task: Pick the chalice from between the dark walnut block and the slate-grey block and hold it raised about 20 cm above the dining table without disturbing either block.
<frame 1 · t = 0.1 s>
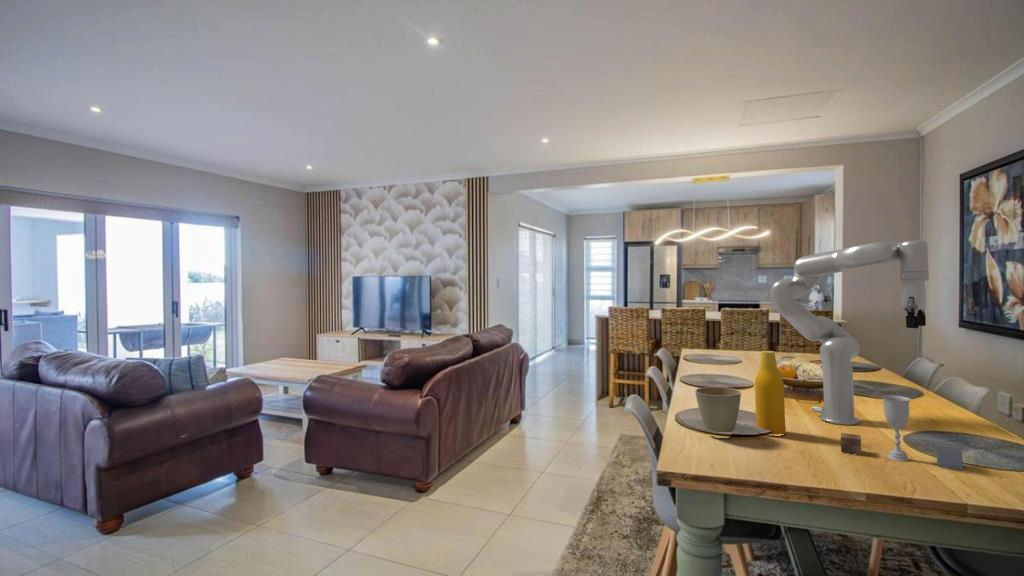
hand: (916, 326, 164), 37 cm above the table, tool pointing down, fingers open, 9 cm apart
walnut block: (851, 452, 150), on the table
beer bottle: (770, 433, 171), on the table
plant pot: (719, 436, 170), on the table
slate block: (949, 465, 136), on the table
chalice: (898, 458, 143), on the table
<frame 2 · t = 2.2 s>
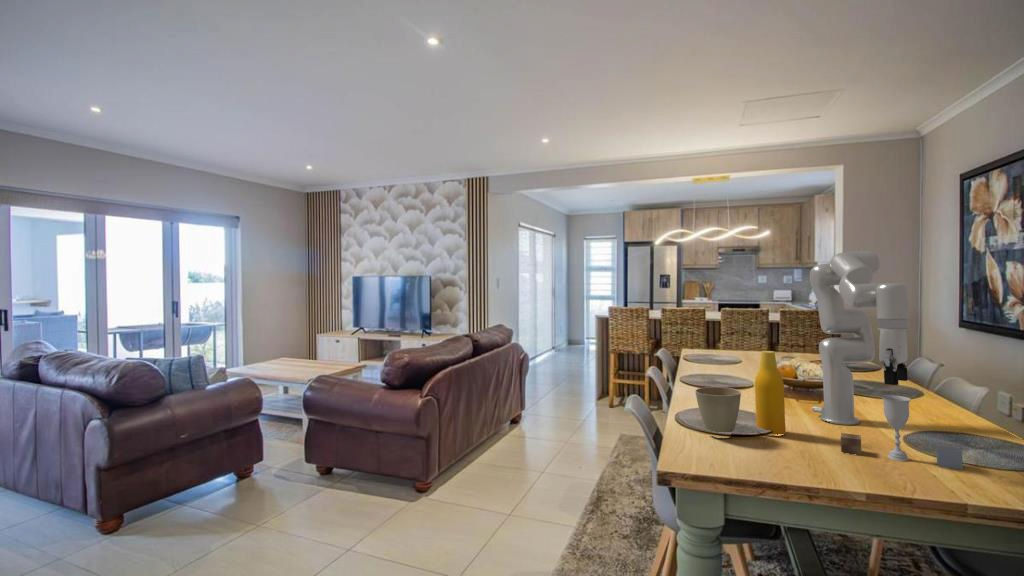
hand: (896, 382, 143), 23 cm above the table, tool pointing down, fingers open, 9 cm apart
nothing on the table moved.
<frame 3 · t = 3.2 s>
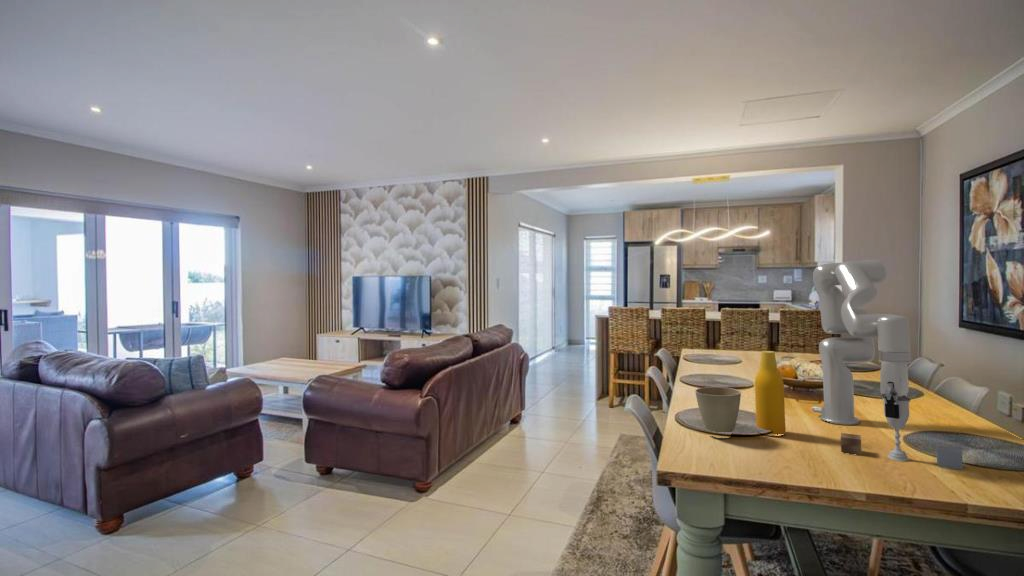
hand: (897, 414, 143), 13 cm above the table, tool pointing down, fingers open, 9 cm apart
nothing on the table moved.
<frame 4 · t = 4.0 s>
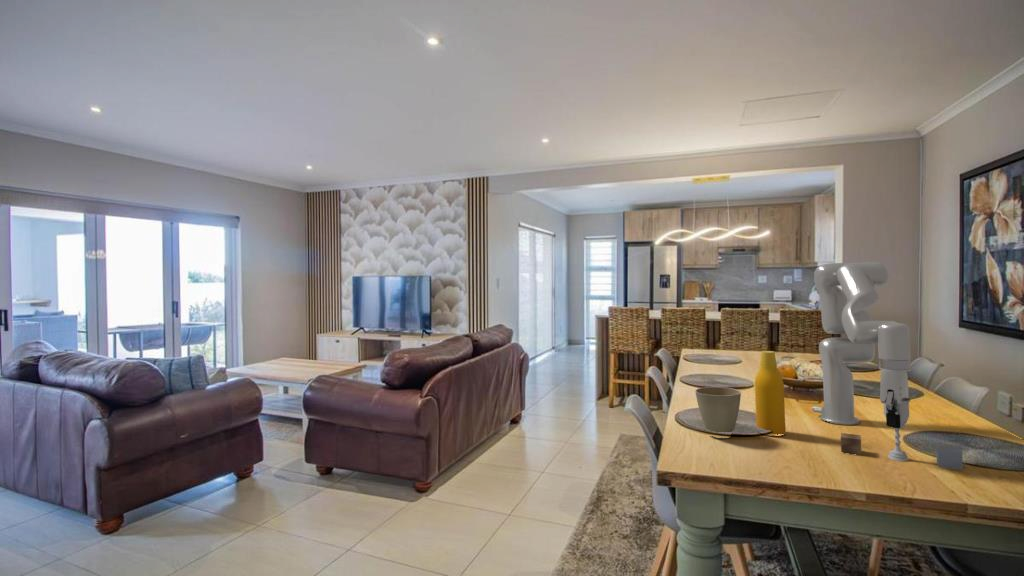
hand: (896, 424, 143), 10 cm above the table, tool pointing down, fingers closed on chalice, 6 cm apart
chalice: (898, 458, 143), on the table, touching gripper
everything else where it was.
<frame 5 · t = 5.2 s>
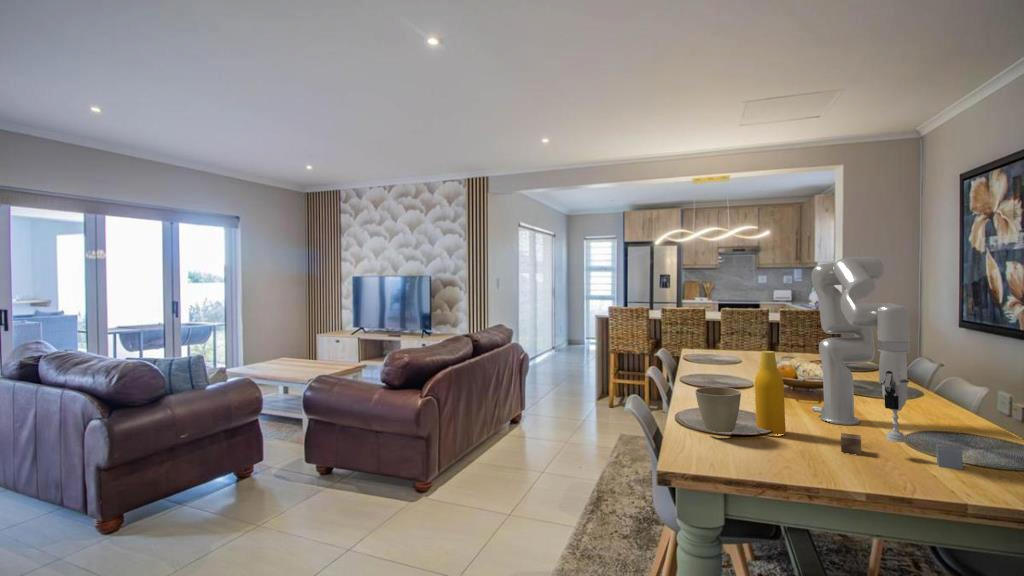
hand: (895, 405, 144), 15 cm above the table, tool pointing down, fingers closed on chalice, 6 cm apart
chalice: (895, 440, 144), point 5 cm above the table, touching gripper
everything else where it was.
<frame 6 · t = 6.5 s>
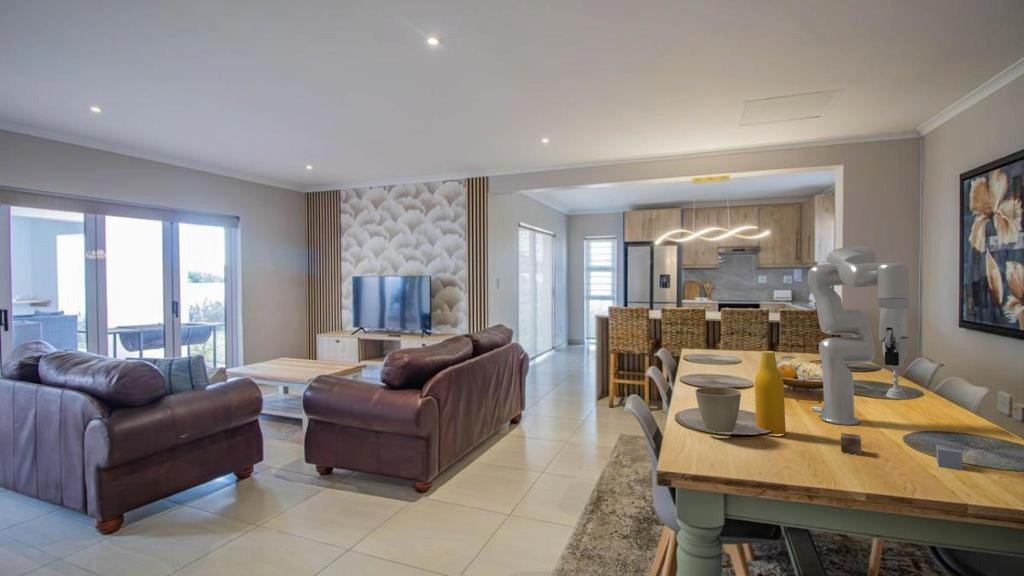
hand: (895, 363, 145), 28 cm above the table, tool pointing down, fingers closed on chalice, 6 cm apart
chalice: (896, 397, 145), point 18 cm above the table, touching gripper
everything else where it was.
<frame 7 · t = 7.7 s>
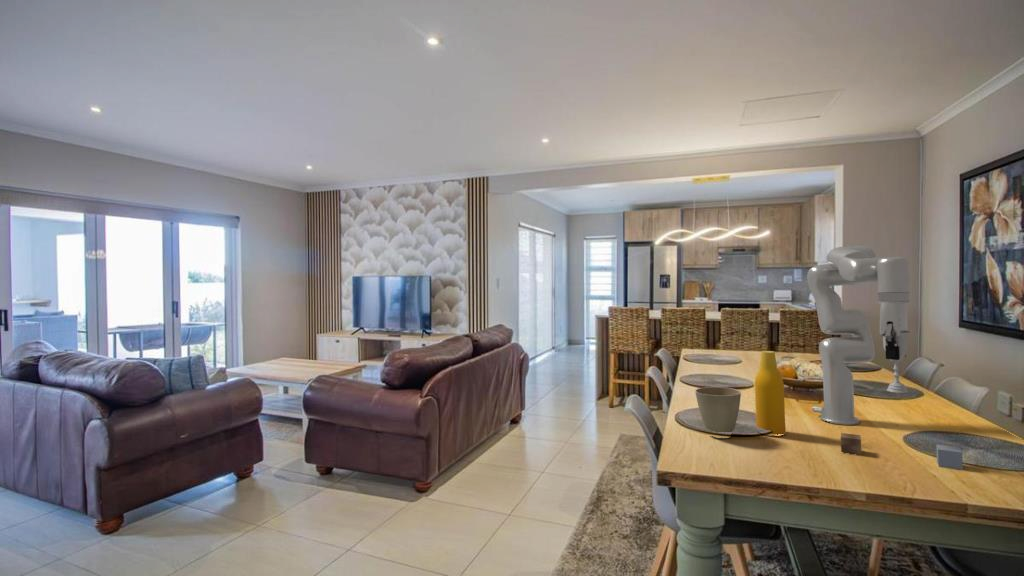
hand: (896, 357, 144), 30 cm above the table, tool pointing down, fingers closed on chalice, 6 cm apart
chalice: (897, 391, 144), point 20 cm above the table, touching gripper
everything else where it was.
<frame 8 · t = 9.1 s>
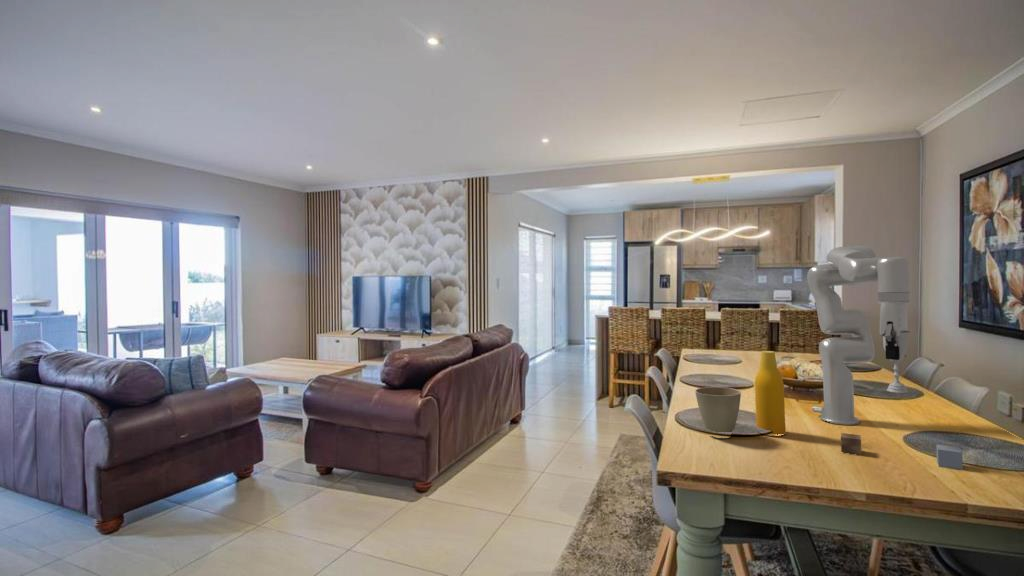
hand: (896, 357, 144), 30 cm above the table, tool pointing down, fingers closed on chalice, 6 cm apart
chalice: (897, 391, 144), point 20 cm above the table, touching gripper
everything else where it was.
at the end: chalice point 19.6 cm above the table; walnut block moved 0.1 cm from its start; slate block moved 0.1 cm from its start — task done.
